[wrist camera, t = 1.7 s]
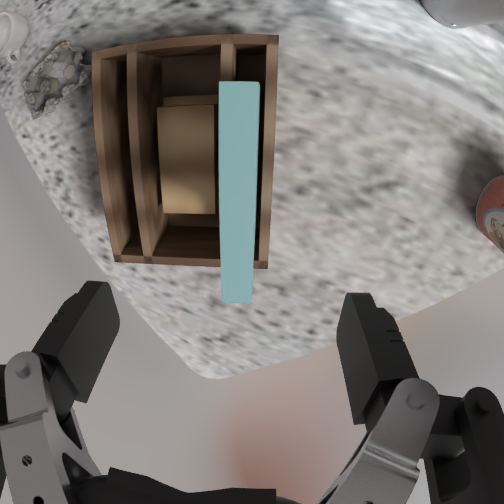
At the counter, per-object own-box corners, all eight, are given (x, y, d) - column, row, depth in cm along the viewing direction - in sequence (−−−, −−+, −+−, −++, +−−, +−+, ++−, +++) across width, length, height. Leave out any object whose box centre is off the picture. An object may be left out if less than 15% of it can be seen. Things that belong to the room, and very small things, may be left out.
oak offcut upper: (163, 106, 30) (156, 107, 28) (217, 103, 30) (214, 104, 28) (169, 205, 36) (163, 213, 34) (218, 205, 36) (215, 214, 34)
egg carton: (83, 38, 28) (67, 36, 25) (99, 81, 32) (84, 82, 28) (31, 78, 30) (14, 80, 27) (45, 119, 34) (29, 123, 30)
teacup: (-1, 36, 25) (-23, 37, 20) (28, 4, 23) (7, 1, 19) (13, 77, 29) (-9, 81, 25) (44, 46, 28) (21, 45, 23)
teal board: (242, 86, 31) (219, 81, 14) (260, 86, 31) (258, 81, 14) (240, 198, 38) (222, 302, 21) (256, 199, 38) (251, 303, 21)
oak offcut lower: (170, 96, 32) (163, 97, 29) (220, 94, 32) (217, 95, 29) (174, 190, 38) (168, 197, 36) (220, 190, 38) (217, 197, 35)
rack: (128, 57, 30) (91, 52, 22) (274, 48, 30) (278, 35, 22) (140, 226, 42) (114, 261, 34) (266, 230, 42) (267, 269, 34)
